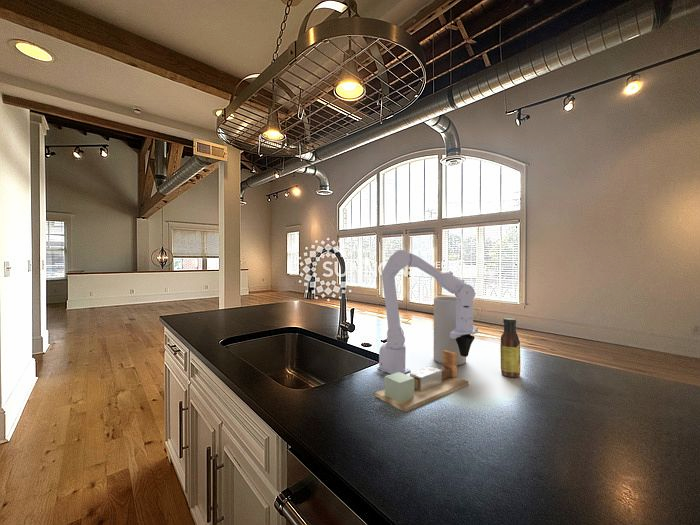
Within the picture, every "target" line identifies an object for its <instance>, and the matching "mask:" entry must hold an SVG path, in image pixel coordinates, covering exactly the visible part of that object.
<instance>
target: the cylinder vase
mask: <svg viewBox="0 0 700 525" xmlns="http://www.w3.org/2000/svg"><path fill="white" fill-rule="evenodd" d="M459 299H460V298H459ZM455 329H456V296H455V297H454V296H453V297H452V296H437V297H433V360H434V361H435V362H437V363H439V364H442V365H443V351H444V350H449V351H452V352H456V353H457V366H463V365H464V364H465V363H466V362H467V357H464V356H461V355H460V351H459V347H458V344H457V342H456V340H455V339H453V338H450V332H452V331H454V330H455Z"/></svg>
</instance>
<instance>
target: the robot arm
mask: <svg viewBox="0 0 700 525" xmlns="http://www.w3.org/2000/svg"><path fill="white" fill-rule="evenodd" d="M407 266H408V267H410V268H417V269H418V270H421V271H422V272H424V273H426V274H427V275H428V276H431V277H433V278H434V279H435V280H436V284H437V285H438V286H440V287H441V288H442V289H444V290H446V291H448V293H451V294H454V296H455V297H456V329H455V330H454V331H452V332H450V338H453V339H455V340H456V342H457V344H458V347H459V351H460V355H461V356H464V357H466V358H467V357H469V353H470V349H471V346H472V344H473V342H474V340H475V339H476V338H475V335H476V334H478V333H479V331H478V330H479V327H475V326H474V298H475V297H476V294H477V293H476V292H475V289H474V287H473V286H472V285H471V284H468V283H466V281H465V279H463V278H462V279H460V278H459V277H457V276H456V275H454V272H452V271H447V270H444V271H441V270H439V269H437V268H436V267H435V266H433V265H431V264H430V263H428V262H427V261H426V260H424V259H423V258H421V257H420V256H418V255H415V254H414V253H411V252H409V251H407V250H405V249H398V250H396V251H395V252H394V253H392V254H391V255H390V256H389V258H388V260H387V262H386V264H385V266H384V268H383V270H382V272H381V279H382V286H383V287H382V288H383V295H384V296H383V297H384V303H385V304H384V305H385V311H386V320H387V332H386V336H387V337H386V343H383V344H382V345H381V346H380V348H379V352H378V355H379V357H378V361H379V362H378V366H377V370H380V371H382V372H385V373H387V374H388V375H391V374H394V373H397V372H401V373H403V374H407V373H411V372H412V371H411V369H409V368H406V353H407V352H406V350H407V349H406V346H407V345H406V343H405V342H406V337H405V335H404V334H405V333H404V330H403V329H402V326H401V320H400V312H399V311H400V310H399V303H398V297H397V296H398V295H397V288H396V286H397V285H396V279H395V278H396V276H397V275H398V274H399V272H400V271H401V270H403V269H404V268H406V267H407ZM459 298H460V299H459Z"/></svg>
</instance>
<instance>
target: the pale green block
mask: <svg viewBox="0 0 700 525" xmlns="http://www.w3.org/2000/svg"><path fill="white" fill-rule="evenodd" d="M384 389H385V395H386V396H388V397H390V398H392V399H394V400H396V401H398V402H402V401H405V400H407V399H410V398H412V397H414V378H413V377H411V376H410V375H408V374H407V373H404V374H403V373H401V372H397V373H394V374H387V375H385V376H384Z"/></svg>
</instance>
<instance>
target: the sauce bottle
mask: <svg viewBox="0 0 700 525" xmlns="http://www.w3.org/2000/svg"><path fill="white" fill-rule="evenodd" d="M516 326H517V319H516V318H512V317H504V318H503V333H502V334H501V335H500V344H499V345H500V346H499V347H500V350H499V352H500V372H501V375H503V376H504V377H508V378H518V377H520V376H521V341H520V337H519V336H518V332H517V327H516Z"/></svg>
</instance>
